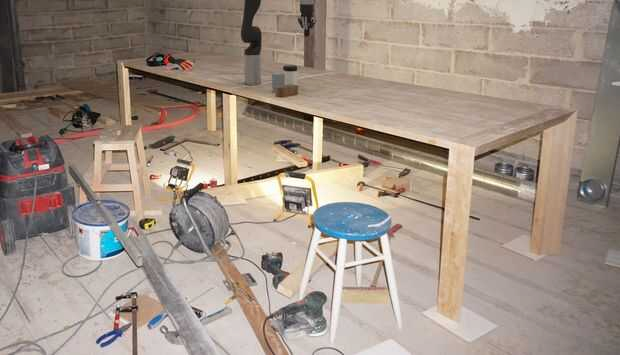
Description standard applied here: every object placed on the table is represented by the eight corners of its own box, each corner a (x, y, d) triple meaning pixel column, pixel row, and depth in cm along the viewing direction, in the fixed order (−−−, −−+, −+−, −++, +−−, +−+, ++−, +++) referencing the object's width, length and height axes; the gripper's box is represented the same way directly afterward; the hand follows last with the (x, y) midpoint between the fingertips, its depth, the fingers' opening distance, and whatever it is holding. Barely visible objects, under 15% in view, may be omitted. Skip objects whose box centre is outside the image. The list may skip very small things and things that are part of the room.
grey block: (272, 92, 306) (271, 73, 303) (277, 90, 310) (277, 72, 307) (279, 93, 303) (279, 74, 300) (284, 91, 307) (284, 73, 304)
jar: (281, 88, 318) (281, 66, 314) (284, 85, 326) (283, 64, 322) (296, 88, 317) (296, 67, 313) (299, 85, 324) (299, 65, 320)
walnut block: (292, 93, 302) (275, 96, 295) (292, 84, 301) (275, 86, 293) (298, 94, 299) (281, 97, 291) (298, 85, 297) (281, 88, 290)
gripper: (293, 3, 300) (293, 36, 306) (310, 3, 291) (310, 37, 297) (303, 3, 305) (303, 35, 310) (320, 3, 296) (320, 37, 301)
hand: (306, 36), depth 303 cm, fingers closed
